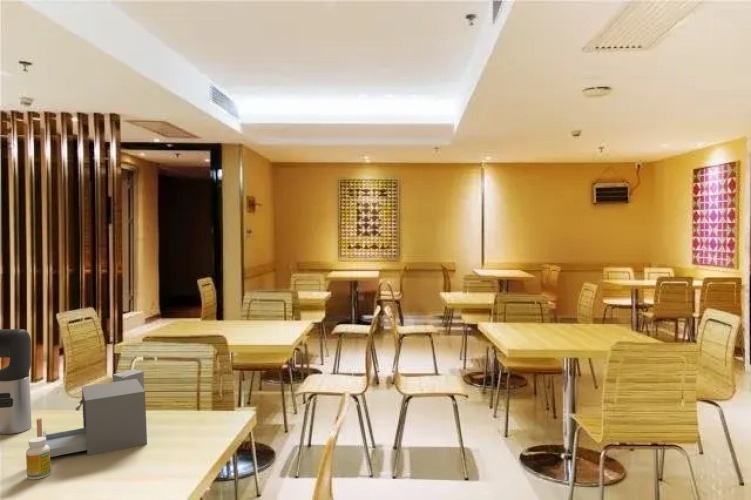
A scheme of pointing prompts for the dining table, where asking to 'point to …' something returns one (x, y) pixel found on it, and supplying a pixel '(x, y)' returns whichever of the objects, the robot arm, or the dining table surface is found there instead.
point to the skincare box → (130, 376)
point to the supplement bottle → (38, 458)
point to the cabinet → (114, 416)
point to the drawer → (64, 440)
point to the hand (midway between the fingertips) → (11, 399)
